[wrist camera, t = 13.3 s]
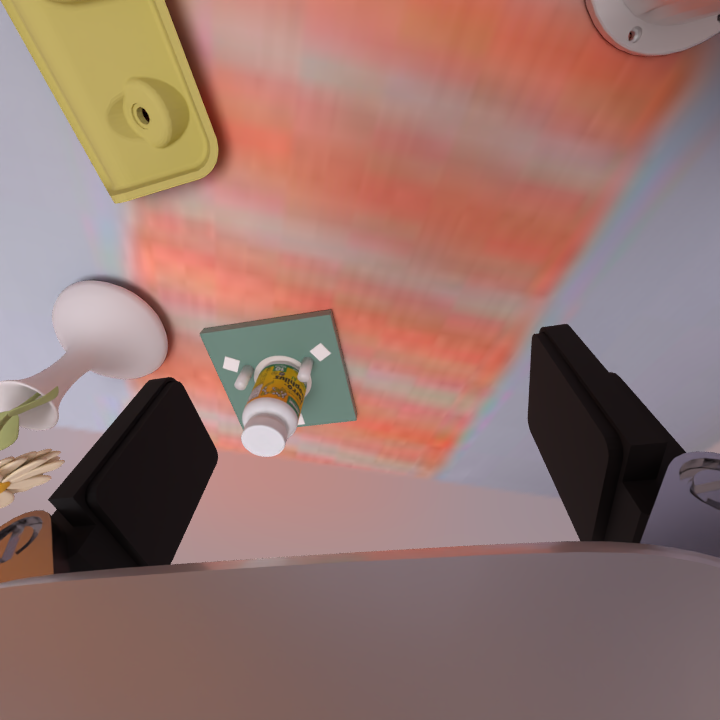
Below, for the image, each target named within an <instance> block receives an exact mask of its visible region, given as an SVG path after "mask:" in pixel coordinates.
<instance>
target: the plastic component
mask: <svg viewBox="0 0 720 720" xmlns="http://www.w3.org/2000/svg"><path fill="white" fill-rule="evenodd" d="M1 2H2V4H3V6H4V7H5V9H6V11H7V13H8V15H9V16H10V18H11V20H12V22H13V23H14V25H15V27H16V29H17V31H18V32H19V34H20V36H21V38H22V40H23V41H24V43H25V45H26V47H27V48H28V50H29V52H30V54H31V56H32V57H33V59H34V61H35V63H36V65H37V66H38V68H39V70H40V72H41V73H42V75H43V77H44V79H45V81H46V82H47V84H48V86H49V88H50V89H51V91H52V93H53V95H54V97H55V98H56V100H57V102H58V104H59V105H60V107H61V109H62V111H63V113H64V114H65V116H66V118H67V120H68V122H69V123H70V125H71V127H72V129H73V130H74V132H75V134H76V136H77V138H78V139H79V141H80V143H81V145H82V146H83V148H84V150H85V152H86V154H87V155H88V157H89V159H90V161H91V163H92V164H93V166H94V168H95V170H96V171H97V173H98V175H99V177H100V179H101V180H102V182H103V184H104V186H105V187H106V189H107V191H108V193H109V195H110V196H111V198H112V200H113V201H114V203H122V202H126V201H130V200H133V199H136V198H139V197H143V196H146V195H149V194H153V193H156V192H159V191H162V190H166V189H169V188H172V187H175V186H179V185H182V184H185V183H189V182H192V181H195V180H198V179H201V178H203V177H205V176H206V175H208V174H209V173H210V172H211V171H212V169H213V168H214V166H215V164H216V162H217V158H218V143H217V138H216V136H215V133H214V130H213V128H212V125H211V122H210V120H209V117H208V114H207V112H206V109H205V106H204V104H203V101H202V98H201V96H200V93H199V91H198V88H197V85H196V83H195V80H194V77H193V75H192V72H191V69H190V67H189V64H188V61H187V59H186V56H185V53H184V51H183V48H182V45H181V43H180V40H179V38H178V35H177V32H176V30H175V27H174V24H173V22H172V19H171V16H170V14H169V11H168V8H167V6H166V3H165V0H1ZM142 108H144V109H145V110H146V112H147V113H148V115H149V118H150V121H149V122H148V121H146V119H145V118H144V116H143V113H142Z"/></svg>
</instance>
